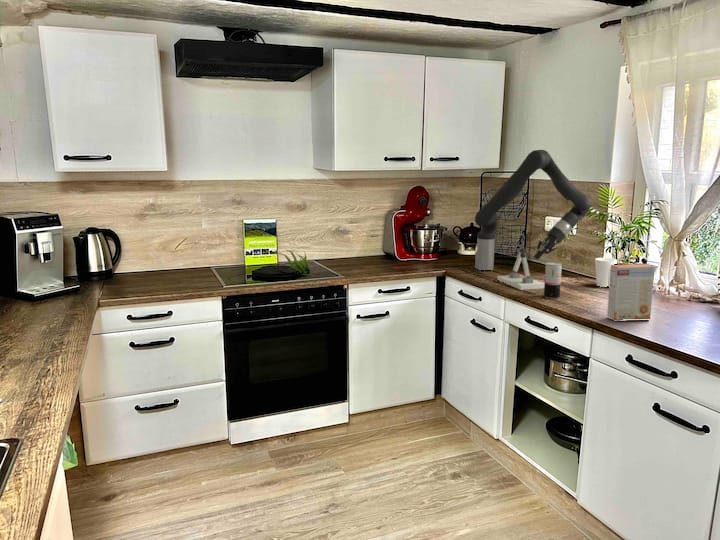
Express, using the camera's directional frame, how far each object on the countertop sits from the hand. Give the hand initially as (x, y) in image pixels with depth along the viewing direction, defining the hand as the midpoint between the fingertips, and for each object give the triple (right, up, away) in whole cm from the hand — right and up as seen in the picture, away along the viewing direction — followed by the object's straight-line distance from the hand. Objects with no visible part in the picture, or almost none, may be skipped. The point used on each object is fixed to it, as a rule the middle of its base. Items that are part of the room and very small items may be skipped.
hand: (535, 258), depth 257 cm
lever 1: (-6, -6, +12) cm, 15 cm away
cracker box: (+18, -24, -52) cm, 60 cm away
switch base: (-5, -12, +8) cm, 15 cm away
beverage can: (+1, -18, -18) cm, 25 cm away
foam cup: (+33, -13, +1) cm, 35 cm away
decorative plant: (-122, -8, +39) cm, 128 cm away
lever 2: (-3, -9, +1) cm, 9 cm away
